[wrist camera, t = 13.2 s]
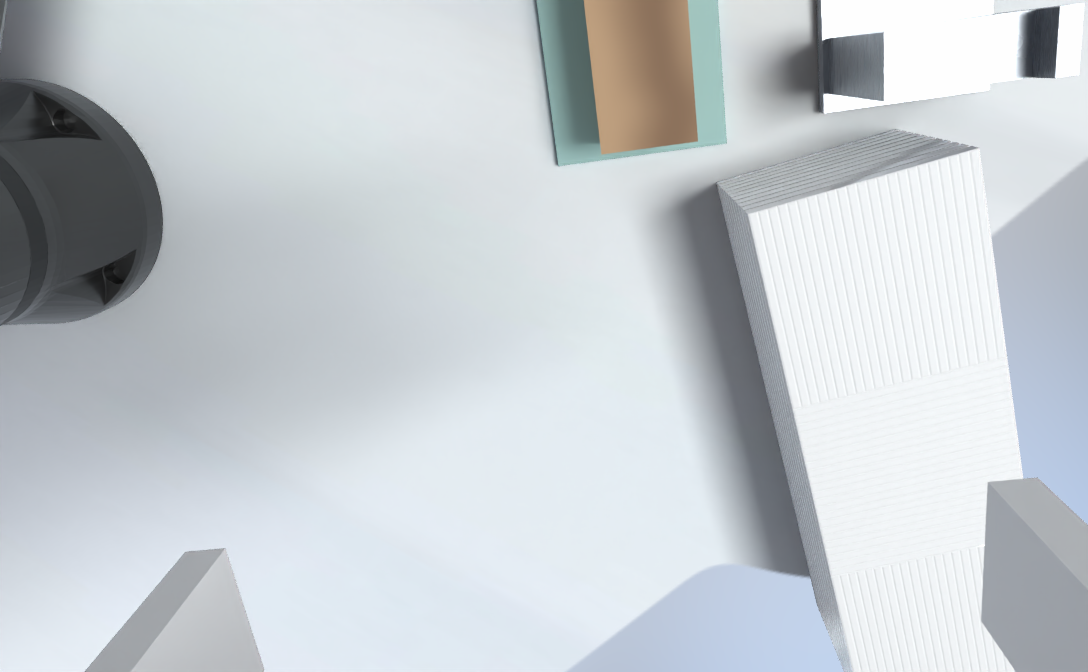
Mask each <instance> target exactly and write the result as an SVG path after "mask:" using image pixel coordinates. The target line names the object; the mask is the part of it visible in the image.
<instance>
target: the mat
mask: <svg viewBox="0 0 1088 672" xmlns="http://www.w3.org/2000/svg"><path fill="white" fill-rule="evenodd" d="M536 1H537V8H538V16H539V23H540V31H541V38H542V46H543V53H544V61H545V69H546V76H547V84H548V91H549V99H550V106H551V114H552V121H553V129H554V136H555V144H556V151H557V159H558V166H563V165H570V164H578V163H585V162H592V161H600V160H607V159H615V158H622V157H629V156H637V155H644V154H651V153H659V152H666V151H674V150H681V149H688V148H696V147H703V146H711V145H718V144H725V143H727V140H726V124H725V108H724V92H723V76H722V60H721V44H720V29H719V13H718V0H688V12H689V26H690V39H691V52H692V66H693V79H694V93H695V106H696V119H697V133H698V142H690V143H683V144H676V145H668V146H661V147H654V148H646V149H639V150H632V151H624V152H617V153H610V154H602V155H601V147H600V138H599V129H598V121H597V112H596V103H595V94H594V86H593V77H592V68H591V59H590V51H589V42H588V33H587V25H586V16H585V7H584V0H536Z"/></svg>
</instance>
